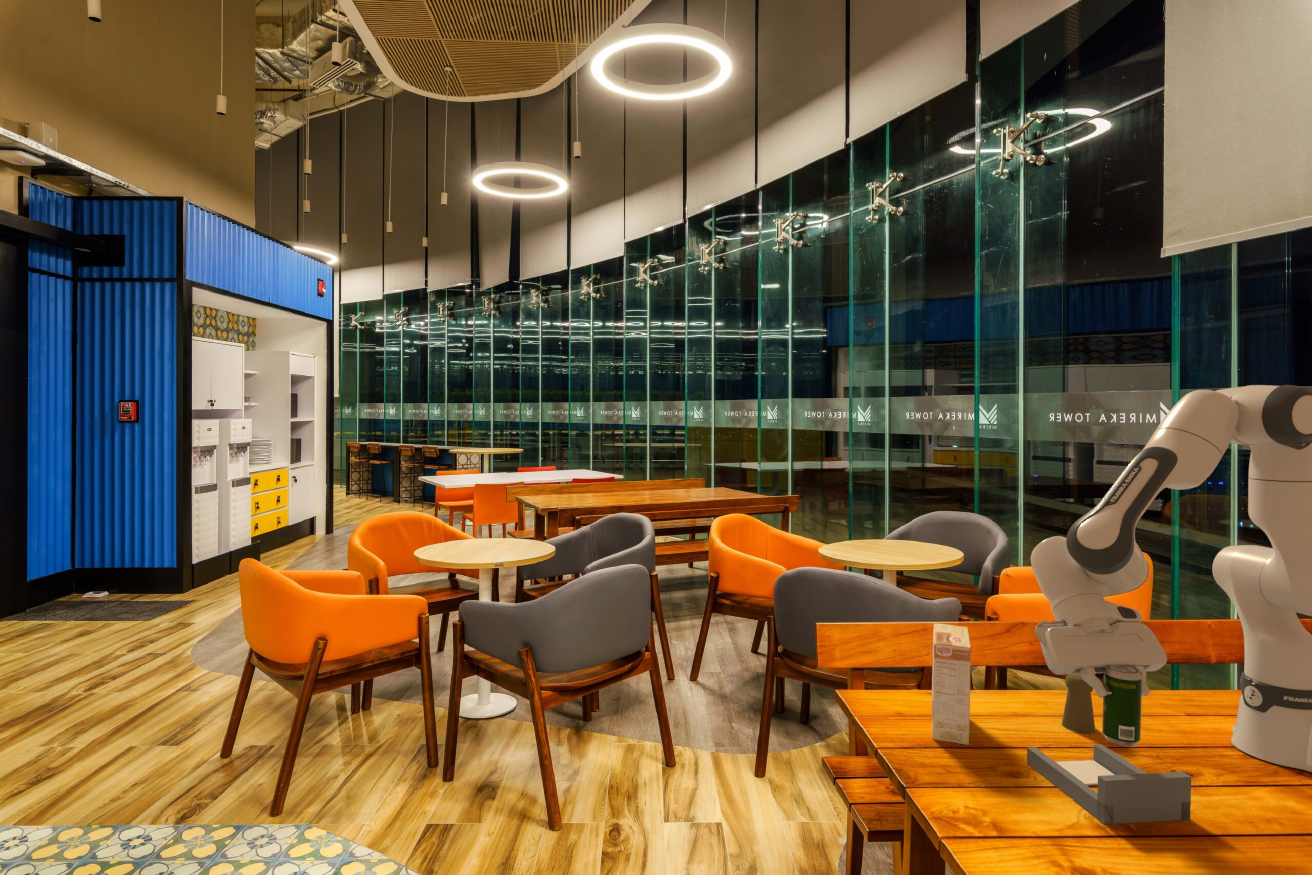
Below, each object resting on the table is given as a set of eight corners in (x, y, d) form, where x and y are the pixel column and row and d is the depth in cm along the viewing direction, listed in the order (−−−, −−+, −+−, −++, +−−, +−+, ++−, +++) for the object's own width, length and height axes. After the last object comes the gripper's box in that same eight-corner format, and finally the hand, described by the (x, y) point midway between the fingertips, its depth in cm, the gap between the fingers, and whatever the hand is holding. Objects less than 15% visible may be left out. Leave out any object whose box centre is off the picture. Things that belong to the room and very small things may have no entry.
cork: (1100, 734, 146) (1101, 680, 146) (1067, 731, 148) (1069, 678, 147) (1088, 722, 152) (1090, 670, 152) (1057, 719, 154) (1058, 668, 153)
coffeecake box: (931, 710, 158) (933, 622, 157) (966, 716, 155) (968, 626, 154) (930, 739, 144) (932, 642, 143) (969, 745, 141) (971, 647, 140)
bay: (1101, 759, 136) (1102, 723, 135) (1190, 819, 116) (1191, 776, 115) (1026, 763, 134) (1027, 726, 134) (1103, 824, 114) (1105, 780, 114)
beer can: (1147, 747, 118) (1149, 674, 117) (1112, 745, 118) (1114, 673, 118) (1129, 732, 123) (1130, 663, 123) (1095, 731, 124) (1097, 662, 123)
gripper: (1039, 612, 126) (1075, 689, 117) (1147, 610, 128) (1192, 685, 119) (1023, 630, 130) (1057, 705, 121) (1128, 627, 133) (1169, 701, 123)
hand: (1125, 695), depth 120 cm, fingers closed on beer can, 5 cm apart
